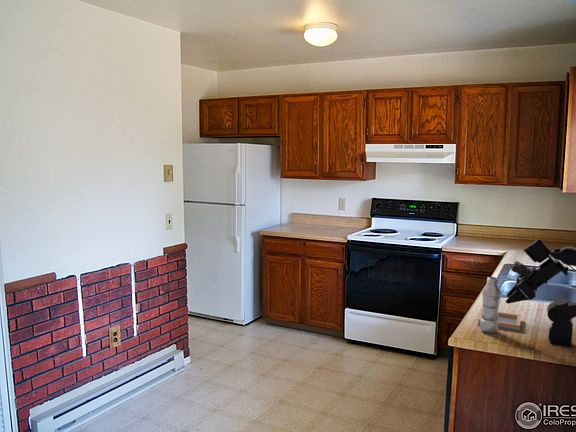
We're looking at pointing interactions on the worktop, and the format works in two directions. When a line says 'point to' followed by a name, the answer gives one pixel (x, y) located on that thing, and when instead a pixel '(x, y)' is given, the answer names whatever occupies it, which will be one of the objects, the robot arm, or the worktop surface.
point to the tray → (506, 321)
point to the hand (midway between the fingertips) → (506, 299)
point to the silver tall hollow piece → (490, 306)
